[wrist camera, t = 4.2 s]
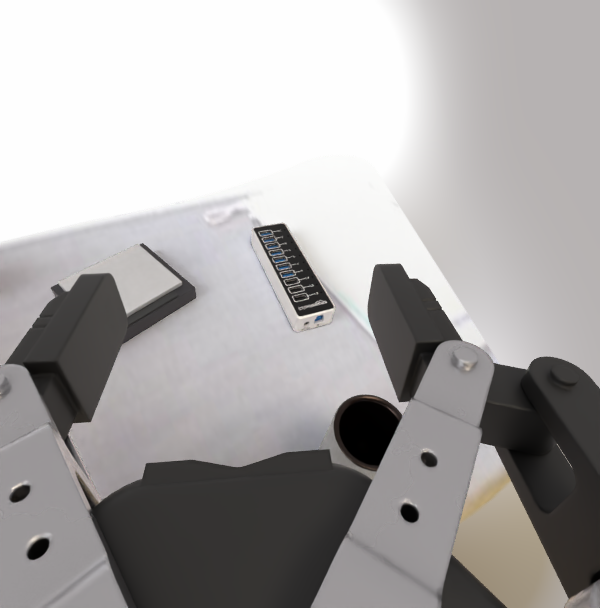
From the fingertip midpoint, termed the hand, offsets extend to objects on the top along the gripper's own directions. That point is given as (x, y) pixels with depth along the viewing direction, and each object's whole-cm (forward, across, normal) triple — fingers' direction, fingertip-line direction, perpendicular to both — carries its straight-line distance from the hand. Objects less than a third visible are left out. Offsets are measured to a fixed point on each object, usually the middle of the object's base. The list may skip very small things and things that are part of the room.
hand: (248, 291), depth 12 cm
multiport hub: (+26, -3, +17) cm, 31 cm away
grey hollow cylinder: (+4, -5, +22) cm, 23 cm away
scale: (+22, +14, +16) cm, 31 cm away
